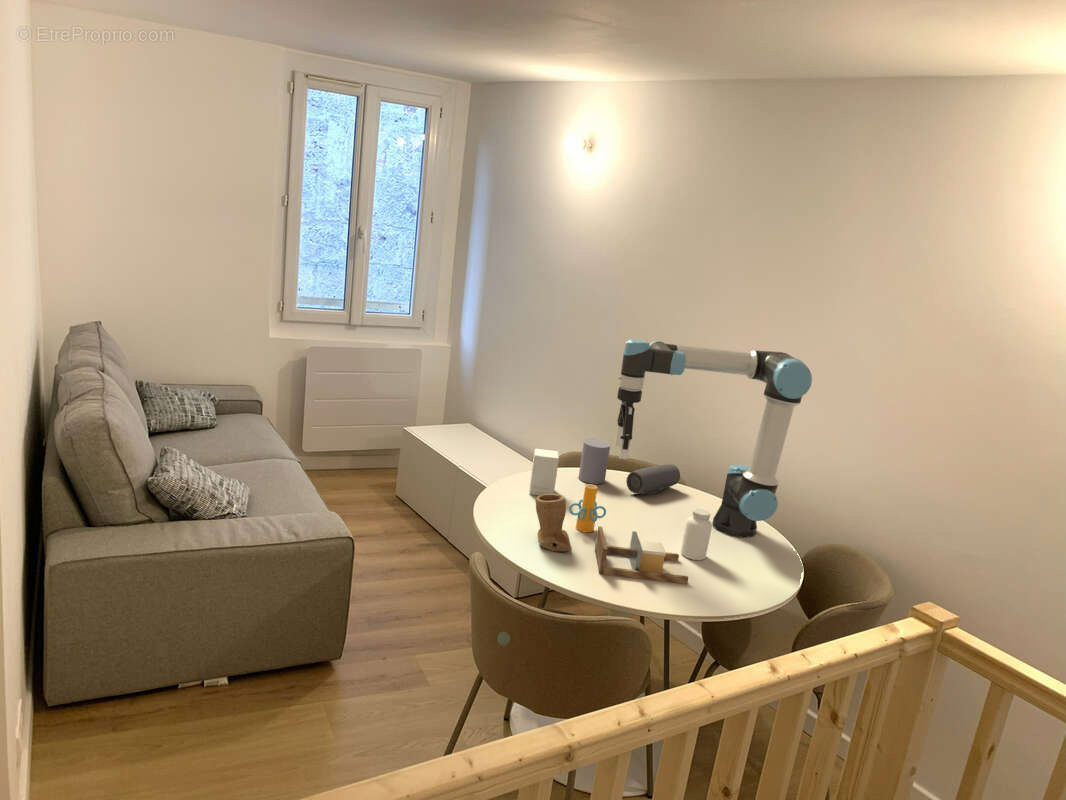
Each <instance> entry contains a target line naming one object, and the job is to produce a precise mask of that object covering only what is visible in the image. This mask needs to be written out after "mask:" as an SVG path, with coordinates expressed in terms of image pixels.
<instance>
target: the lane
mask: <svg viewBox="0 0 1066 800" xmlns="http://www.w3.org/2000/svg"><path fill="white" fill-rule="evenodd" d="M597 527H598V528H597V534H596V540H595V547H594V554H595V558H596V564H597V565H596V566H597V569H598V574H599V575H603V576H612V577H613V576H614V577H621V578H622V577H623V578H629V579H631V578H632V579H640V580H646V581H647V580H648V581H656V582H663V583H664V582H665V583H666V582H667V583H673V584H674V583H676V584H681V585H683V584H684V585H688V583H689V576H688V575H682V574H681V575H680V574H672V573H663V572H662V573H656V572H648V571H639V570H633V569H632V568H631V569H630V568H629V569H627V568H621V567H620V568H619V567H612V566H606V559H607V555H608V554H611V555H612V554H613V555H618V556H619V555H620V556H628V557H629V549H630V547H622V546H614V545H607V542H606V537H605V532H604V527H603V526H597ZM665 552H666V551H665ZM679 556H680V555H679V553H673V552H666V554H665V557H664V561H671V562H679Z"/></svg>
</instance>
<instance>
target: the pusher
mask: <svg viewBox="0 0 1066 800" xmlns="http://www.w3.org/2000/svg"><path fill="white" fill-rule="evenodd" d="M639 540H640V539H639V536H638V532H637V531H632V532H631V538H630V545H629V548H630V549H629V556H628V558H629V561H630V565H631V570H639V567H640V562H641V556H642V547H641V544H640V541H639Z"/></svg>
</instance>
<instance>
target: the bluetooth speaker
mask: <svg viewBox="0 0 1066 800" xmlns="http://www.w3.org/2000/svg"><path fill="white" fill-rule="evenodd" d="M680 480H681V472H680V469H679V467H678V466H676V465H675V464H672V463H668V464H667V463H665V464H661V465H659V464H658V465H654V466H649V467H648V466H647V467H645V468H640V469H637V470H634V471H633V470H632V472H630V473H629V474H628V475H627V477H626V480H625V482H626V486H627V489H628V490H629V491H630V492H631V493H633V494H644V495H652V494H656V493H659V492H661V491H662V490H664V489H667V488H670V487H672V486H675V485H677V484H678V483H679V482H680Z"/></svg>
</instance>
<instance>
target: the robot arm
mask: <svg viewBox="0 0 1066 800" xmlns="http://www.w3.org/2000/svg"><path fill="white" fill-rule="evenodd" d="M623 349H624V350H623V353H622V354H623V355H622V361H621V362H622V363H621V371H620V376H618V378H617V379H618V380H619V383H618V386H619V387H618V388H617V397H616V398H617V400H619V401H621V404H620V408H619V413H618V416H617V428H616V435H615V441H614V446H617V447H619V452H618V453H619V454H618V459H623V460H628V459H629V452H630V446H631V440H632V439H633V428H634V416H635V407H634V404H636V403H637V404H638V403H640V402H641V401H642V395H643V391H642V390H643V389H644V381H645V375H646V372H647V373H656V374H666V375H670V376H674V375H676V376H681V375H683V373H684V371H685V370H686V369H687V370H695V371H704V372H705V371H706V372H714V373H721V374H722V373H723V374H730V375H731V374H732V375H739V376H740V375H742V376H746V377H747V378H748V379H749V380H757V381H760V382H763V383H765V387H764V392H763V396H764V398H765V399H766V403H765V406H764V409H763V410H764V411H763V414H762V418H761V423H760V426H759V430H758V432H757V433H758V434H757V437H756V441H755V446H754V449H753V453H752V456H751V460H750V463H749V465H745V464H731V465H730V466H729V467H728V470H727V472H726V479H725V484H724V488H723V489H724V490H723V494H722V500H721V504H720V506H719V508H718V510H716V512H715V515H714V516H713V518H712V522H711V523H712V528H714V529H716V530H717V531H719V532H720V533H723V534H724V535H728V536H732V537H737V538H751V537H754V536H755V535H756V534H757V529H758V524H757V522H761V521H765V520H767V519H769V518H771V517H772V516H773V515H774V514H775V513H776V512H777V510H778V505H779V501H778V496H776V493H777V489H778V486H779V480H778V479H777V478H776V474H777V471H778V466H779V463H780V459H781V456H782V453H783V449H784V446H785V442H786V439H787V438H786V437H787V434H788V430H789V428H790V424H791V423H790V422H791V420H792V416H793V412H794V410H795V409H794V408H795V407H797V406H799V405H800V404H801V402H802V398H803V396H804V395H806V394H807V393H808V392H809V390H810V389H811V387H812V383H813V376H812V373H811V370H810V369H809V367H808V366H807V365H806V363H804V362H803V361H802V360H800V359H799V358H797V357H795V356H794V357H793V356H792V355H790V354H789V353H786V352H782V351H771V350H770V351H768V350H754V349H753V350H751V351H749V352H745V351H744V352H743V351H736V350H727V349H718V348H708V347H699V346H689V345H682V344H681V345H680V344H672V343H665V342H664V341H661V340H660V341H659V340H654V341H652V342H649V341H646V340H643V339H636V338H631V339H627V341H626V342H625V346H624V348H623Z"/></svg>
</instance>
